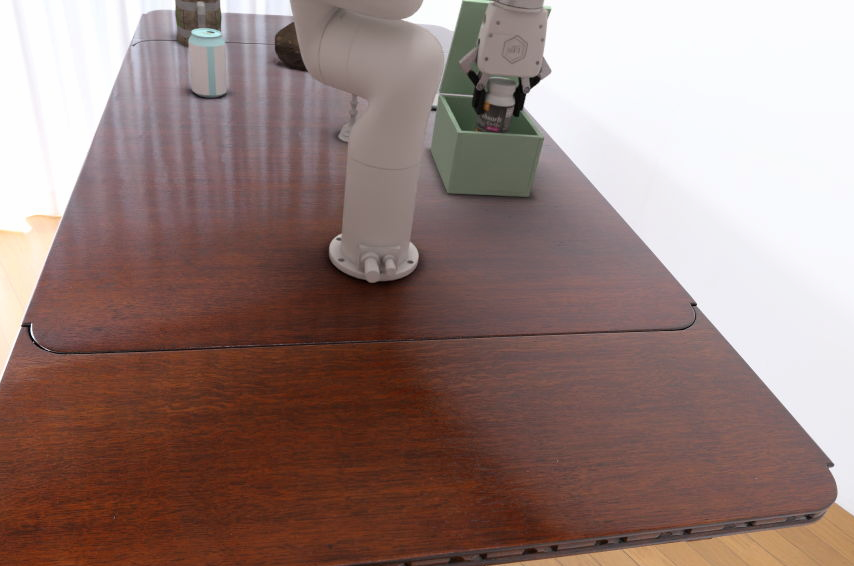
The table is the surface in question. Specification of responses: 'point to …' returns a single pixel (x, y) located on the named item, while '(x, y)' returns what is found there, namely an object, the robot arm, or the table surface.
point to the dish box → (483, 151)
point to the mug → (196, 17)
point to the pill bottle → (497, 106)
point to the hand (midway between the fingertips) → (496, 112)
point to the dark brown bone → (289, 47)
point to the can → (208, 62)
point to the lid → (466, 48)
